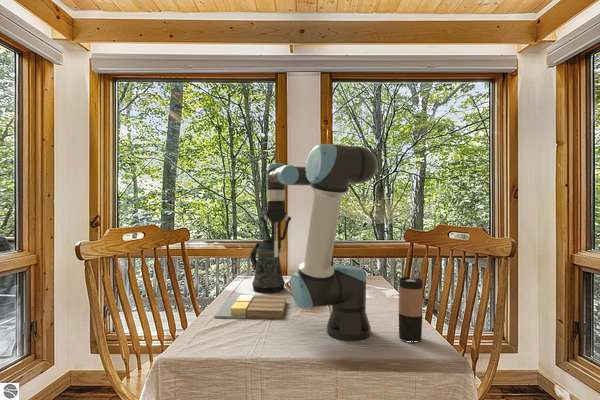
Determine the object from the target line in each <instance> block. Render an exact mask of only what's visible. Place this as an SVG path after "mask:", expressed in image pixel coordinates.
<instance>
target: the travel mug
mask: <svg viewBox="0 0 600 400" xmlns="http://www.w3.org/2000/svg"><path fill="white" fill-rule="evenodd" d="M398 282H399V283H398V335H399V336H398V338H400V339H402V340H405V341H411V342H412V341H413V342H414V341H420V340H421V341H422V335H423V334H422V332H423V302H424V301H423V286H424V285H423V279H422V278H419V277H417V278H411V277H409V276H402V277H399V280H398ZM400 339H399V340H400Z"/></svg>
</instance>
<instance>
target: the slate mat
mask: <svg viewBox="0 0 600 400" xmlns="http://www.w3.org/2000/svg"><path fill="white" fill-rule="evenodd" d="M237 299H238V298H237ZM237 299H235V298H234V299H233V298H232V299H231V298H230V299H229V298H228V299H227V300H226V301H225V303H223V305H222V306H221V307H220V309H219V310H218V311H217V312H216V313H215V315H214V319H235V320H237V319H241V320H242V319H244V320H245V319H247V314H246V315H231V307H232V306H233V304H234V303H235V302H236V300H237Z"/></svg>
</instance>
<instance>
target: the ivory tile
mask: <svg viewBox="0 0 600 400" xmlns="http://www.w3.org/2000/svg"><path fill="white" fill-rule="evenodd" d="M254 296H255V295H253V294H251V295H250V294H240V295H239V296H238V298H237V300H236V302H250V304H251V302H252V300H253V298H254Z"/></svg>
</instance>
